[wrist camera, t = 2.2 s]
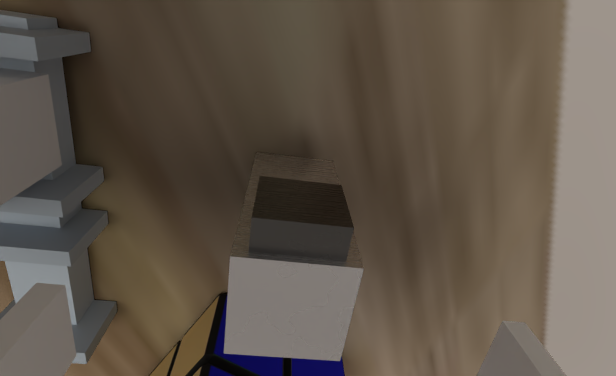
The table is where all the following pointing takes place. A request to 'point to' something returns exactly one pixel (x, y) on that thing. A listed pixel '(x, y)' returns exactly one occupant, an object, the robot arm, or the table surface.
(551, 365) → the robot arm
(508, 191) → the table surface
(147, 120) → the table surface
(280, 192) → the grey tall block
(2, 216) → the grey stepped piece
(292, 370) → the puzzle cube
